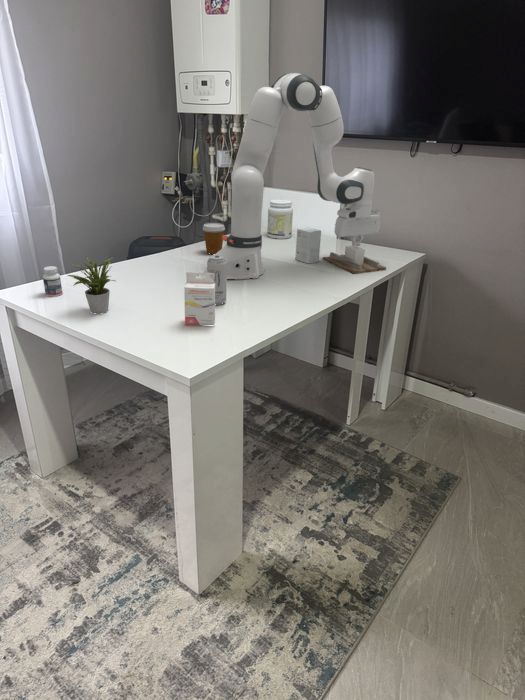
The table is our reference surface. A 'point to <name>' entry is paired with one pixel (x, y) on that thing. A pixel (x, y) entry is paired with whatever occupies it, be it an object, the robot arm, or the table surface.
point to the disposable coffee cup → (213, 237)
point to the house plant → (96, 286)
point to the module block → (355, 254)
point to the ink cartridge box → (199, 299)
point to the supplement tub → (280, 219)
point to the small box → (308, 245)
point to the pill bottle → (52, 282)
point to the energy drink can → (218, 276)
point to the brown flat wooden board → (353, 264)
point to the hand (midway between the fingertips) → (356, 245)
